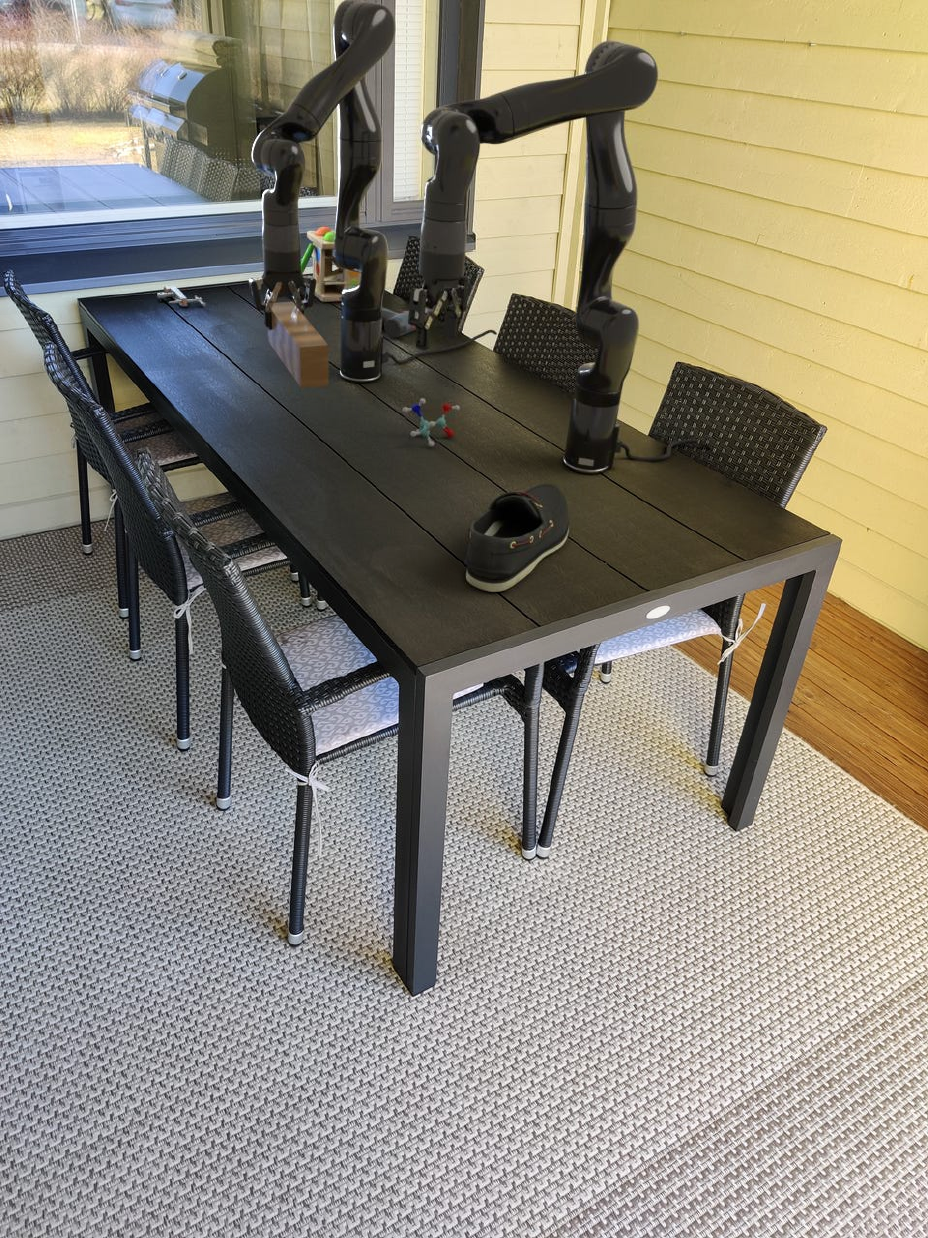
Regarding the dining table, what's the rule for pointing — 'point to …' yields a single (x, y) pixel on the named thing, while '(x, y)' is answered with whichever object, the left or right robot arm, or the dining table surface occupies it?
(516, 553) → the boat shoe
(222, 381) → the dining table surface
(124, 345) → the dining table surface
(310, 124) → the left robot arm
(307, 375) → the bar
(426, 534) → the dining table surface
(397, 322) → the power drill
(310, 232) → the pounding bench toy
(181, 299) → the clamp
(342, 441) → the dining table surface
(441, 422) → the molecular model
